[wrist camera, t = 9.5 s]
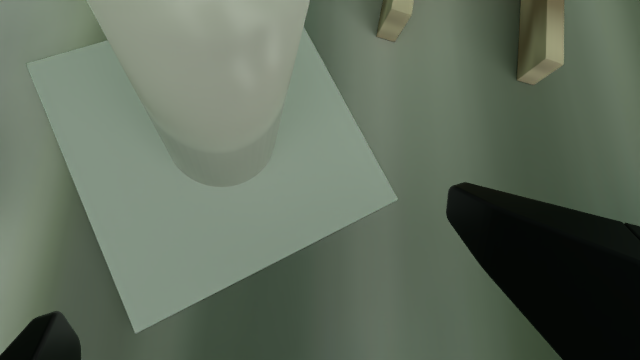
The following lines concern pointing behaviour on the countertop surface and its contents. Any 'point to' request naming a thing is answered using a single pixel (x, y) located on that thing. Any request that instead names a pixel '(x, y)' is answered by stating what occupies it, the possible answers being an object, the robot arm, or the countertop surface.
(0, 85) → the countertop surface
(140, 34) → the pale grey rounded piece
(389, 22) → the holder
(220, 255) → the mat
